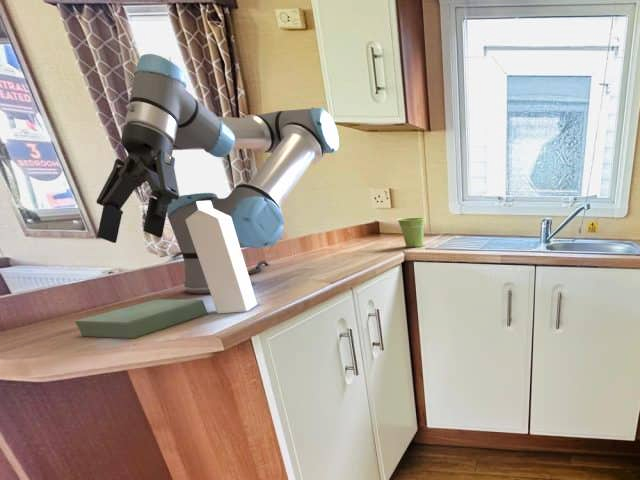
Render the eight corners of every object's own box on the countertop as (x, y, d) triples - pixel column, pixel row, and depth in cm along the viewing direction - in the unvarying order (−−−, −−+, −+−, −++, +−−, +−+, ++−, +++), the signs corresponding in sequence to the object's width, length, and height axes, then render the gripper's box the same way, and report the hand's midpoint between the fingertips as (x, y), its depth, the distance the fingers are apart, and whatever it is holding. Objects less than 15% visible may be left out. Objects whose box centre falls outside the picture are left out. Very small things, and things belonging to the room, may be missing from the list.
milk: (257, 305, 96) (227, 199, 87) (246, 311, 91) (213, 200, 81) (229, 306, 95) (195, 200, 86) (216, 313, 90) (178, 201, 80)
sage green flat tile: (162, 312, 93) (157, 299, 91) (207, 313, 90) (202, 299, 89) (82, 336, 79) (74, 320, 77) (133, 338, 76) (126, 322, 75)
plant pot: (395, 248, 179) (391, 220, 174) (410, 244, 189) (406, 217, 184) (420, 248, 176) (416, 219, 171) (433, 244, 186) (430, 217, 181)
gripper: (86, 132, 84) (64, 232, 81) (172, 110, 76) (150, 221, 73) (130, 156, 91) (111, 250, 88) (213, 138, 83) (194, 241, 80)
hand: (128, 237), depth 80 cm, fingers open, 13 cm apart
